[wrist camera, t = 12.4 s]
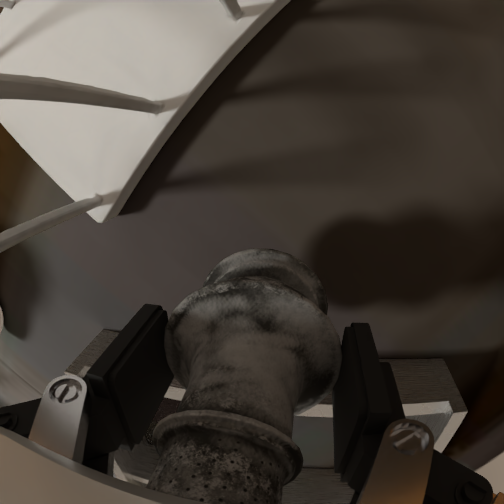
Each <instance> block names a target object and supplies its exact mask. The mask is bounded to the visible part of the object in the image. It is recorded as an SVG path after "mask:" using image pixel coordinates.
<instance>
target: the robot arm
mask: <svg viewBox="0 0 504 504" xmlns="http://www.w3.org/2000/svg"><path fill="white" fill-rule="evenodd" d="M167 323H168V316H167V312H166V311H165V310H163V308H162V307H161V306H159V305H151V304H145V305H143V307H142V308H141V309H140V310H139V311H138V312H137V313H136V315H135V316H134V317H133V318H132V319H131V320H130V322H129V323H128V324H127V325H126V326H125V327H124V328H123V330H122V331H121V332H120V333H119V334H118V335H117V337H116V338H115V339H114V340H113V341H112V342H111V344H110V345H109V346H108V347H107V348H106V350H105V351H104V352H103V353H102V354H101V356H100V357H99V358H98V359H97V360H96V361H95V363H94V364H93V365H92V366H91V368H90V369H89V370H88V371H87V372H86V373H87V374H86V375H85V376H84V377H83V379H81V378H79V377H77V376H73V375H66V376H61V377H58V378H56V379H54V380H52V381H51V382H50V383H49V384H48V385H47V387H46V389H45V391H44V394H43V396H42V398H40V399H36V400H32V401H27V402H23V403H19V404H15V405H10V406H6V407H2V408H0V504H208V503H203V502H198V501H194V500H189V499H185V498H181V497H177V496H173V495H169V494H165V493H161V492H158V491H154V490H151V489H147V488H144V487H141V486H138V485H135V484H132V483H129V482H126V481H123V480H120V479H117V478H114V477H113V469H114V455H115V452H114V451H116V450H118V448H122V449H125V450H128V451H132V449H133V447H134V446H135V444H137V445H138V444H140V442H141V441H142V439H143V437H144V435H145V433H146V431H147V429H148V427H149V425H150V423H151V421H152V419H153V417H154V415H155V413H156V412H157V410H158V408H159V406H160V404H161V402H162V400H163V398H164V396H165V394H166V392H167V390H168V388H169V386H170V384H171V383H172V381H173V379H174V375H173V373H172V371H171V369H170V367H169V365H168V363H167V358H166V353H165V348H164V335H165V327H166V325H167ZM341 349H342V355H343V357H342V362H341V367H340V372H339V376H338V380H337V382H336V383H335V385H334V387H333V389H332V408H333V432H334V471H335V473H340V481H341V482H347V484H348V486H349V487H350V488H352V489H353V490H354V492H353V494H352V496H351V499H350V501H349V503H348V504H504V494H503V493H501V492H499V493H498V494H497V495H496V494H494V493H493V490H492V487H491V484H490V483H489V482H488V480H487V479H485V478H484V477H483V476H481V475H479V474H477V473H475V472H474V471H472V470H470V469H468V468H467V467H465V466H463V465H461V464H459V463H458V462H456V461H454V460H452V459H451V458H449V457H447V456H445V455H444V454H442V453H440V452H439V451H437V450H435V449H434V435H433V433H432V431H431V430H430V429H429V427H428V426H427V425H425V424H423V423H422V422H420V421H417V420H414V419H406V418H405V414H404V410H403V406H402V402H401V399H400V395H399V392H398V388H397V384H396V381H395V378H394V374H393V371H392V367H391V365H390V363H389V362H380V361H379V357H378V354H377V350H376V347H375V343H374V339H373V336H372V332H371V329H370V326H369V324H368V323H352V324H351V327H345V330H344V335H343V340H342V345H341Z"/></svg>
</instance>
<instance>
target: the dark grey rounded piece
mask: <svg viewBox="0 0 504 504" xmlns="http://www.w3.org/2000/svg"><path fill="white" fill-rule="evenodd" d="M327 310H328V303H327V298H326V294H325V289H324V287H323V285H322V284H321V282H320V280H319V278H318V276H317V275H316V274H315V273H314V272H313V271H312V270H311V269H310V268H309V267H308V266H307V265H306V264H305V263H304V262H302V261H301V260H299V259H297V258H295V257H294V256H292V255H290V254H288V253H284V252H281V251H277V250H273V249H249V250H245V251H241V252H236V253H235V254H233V255H231V256H229V257H227V258H225V259H223V260H222V261H221V262H220V263H219V264H218V265H217V266H216V267H215V268H214V269H213V270H212V271H211V272H210V273H209V275H208V277H207V279H206V281H205V283H204V285H203V288H201V289H199V290H197V291H195V292H193V293H191V294H189V295H188V296H187V297H186V298H185V299H184V300H183V301H182V302H181V303H180V304H179V305H178V306H177V307H176V308H175V309H174V310H173V312H172V315H171V317H170V319H169V321H168V323H167V325H166V327H165V335H164V348H165V353H166V358H167V363H168V365H169V367H170V369H171V371H172V373H173V375H174V377H175V378H176V380H177V381H178V382H179V383H180V385H181V386H182V387H183V388H184V389H185V390H186V391H185V393H184V396H183V398H182V400H181V402H180V404H179V407H178V409H177V411H176V413H174V414H170V415H168V416H167V417H165V418H163V419H162V420H160V421H159V422H158V424H157V425H156V427H155V428H154V430H153V432H152V443H153V445H154V447H155V450H156V452H157V454H158V455H159V456H160V457H159V459H158V461H157V464H156V466H155V468H154V470H153V473H152V475H151V477H150V479H149V482H148V484H147V486H146V488H147V489H151V490H154V491H158V492H161V493H165V494H169V495H173V496H177V497H181V498H185V499H189V500H194V501H198V502H203V503H208V504H281V502H282V494H283V486H285V485H287V484H288V483H290V482H292V481H293V480H295V479H296V477H297V476H298V475H299V474H300V472H301V470H302V465H303V457H302V454H301V451H300V448H299V447H298V446H297V445H296V444H295V443H294V442H293V441H292V429H293V417H294V416H296V415H299V414H302V413H303V412H305V411H307V410H309V409H311V408H312V407H314V406H316V405H317V404H319V403H320V402H321V401H322V400H323V399H324V398H325V397H326V396H327V395H328V394H329V393H330V392H331V391H332V389H333V387H334V385H335V383H336V382H337V380H338V376H339V372H340V367H341V362H342V357H343V355H342V349H341V344H340V338H339V335H338V333H337V332H336V330H335V328H334V326H333V324H332V323H331V321H330V319H329V317H328V316H327Z"/></svg>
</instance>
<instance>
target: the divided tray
mask: <svg viewBox="0 0 504 504" xmlns="http://www.w3.org/2000/svg"><path fill="white" fill-rule="evenodd" d="M118 334H119V332H114V331H109V330H104V329H103V330H102V331H101V332H100V333H99V334H98V335H97V336H96V337H95V338H94V340H93V341H92V342H91V343H90V344H89V345H88V346H87V347H86V348H85V349H84V350H83V351H82V353H81V354H80V355H79V356H78V357H77V358H76V359H75V360H74V361H73V362H72V364H71V365H70V366H69V367H68V368H67V369H66V370H65V371H64V372H65V374H66V375H73V376H77V377H79V378H81V379H83V377H84V376H85V375H86V374H87V373H86V372H87V371H88V370H89V369H90V368H91V366H92V365H93V364H94V363H95V361H96V360H97V359H98V358H99V357H100V356H101V354H102V353H103V352H104V351H105V350H106V348H107V347H108V346H109V345H110V344H111V342H112V341H113V340H114V339H115V338H116V337H117V335H118ZM379 361H380V362H389V363H390V365H391V367H392V371H393V374H394V378H395V381H396V384H397V388H398V392H399V395H400V399H401V402H402V406H403V410H404V414H405V416H406V417H405V418H406V419H414V420H417V421H420V422H422V423H423V424H425V425H427V426H428V427H429V429H430V430H431V431H432V433H433V435H434V449H435V450H437V451H439V452H440V453H442V451H443V450H444V448H445V447H446V446H447V444H448V443H449V441H450V440H451V438H452V436H453V435H454V433H455V432H456V430H457V429H458V427H459V425H460V424H461V422H462V420H463V419H464V417H465V415H466V414H467V412H468V410H467V408H466V406H465V404H464V401H463V399H462V397H461V395H460V393H459V391H458V388H457V386H456V384H455V382H454V380H453V378H452V376H451V374H450V372H449V370H448V368H447V366H446V364H445V362H444V360H443V358H436V359H379ZM185 391H186V390H185V389H184V388H183V387H182V386H181V385H180V383H179V382H178V381H177V380H176V378H175V377H174V379H173V381H172V383H171V384H170V386H169V388H168V390H167V392H166V394H165V396H164V397H165V398H170V399H175V400H180V401H181V400H182V398H183V396H184V393H185ZM296 416H313V417H333V408H332V391H331V392H330V393H329V394H328V395H327V396H326V397H325V398H324V399H323V400H322V401H321V402H320V403H319V404H317V405H316V406H314V407H312V408H311V409H309V410H307V411H305V412H303V413H302V414H299V415H296ZM114 452H115V455H114V469H113V472H114V474H115V476H116V477H117V479H120V480H123V481H126V482H129V483H132V484H135V485H138V486H141V487H144V488H146V486H147V484H148V482H149V479H150V477H151V475H152V473H153V470H154V468H155V466H156V464H157V461H158V459H159V457H160V456H159V455H158V454H157V452H156V450H155V447H154V445H152V444H148V442H147V440H146V437H145V435H144V437H143V439H142V441H141V442H140V444H138V445H137V444H135V446H134V447H133V449H132V451H128V450H125V449H122V448H118V450H116V451H114ZM353 492H354V490H353V489H352V488H350V487H349V486H348V484H347V482H341V481H340V473H335V471H334V469H314V468H302V470H301V472H300V474H299V475H298V476H297V477H296V479H295V480H293V481H292V482H290V483H288V484H287V485H285V486H283V494H282V502H281V504H348V503H349V501H350V499H351V496H352V494H353Z"/></svg>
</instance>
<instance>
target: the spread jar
mask: <svg viewBox="0 0 504 504" xmlns="http://www.w3.org/2000/svg"><path fill="white" fill-rule="evenodd" d="M2 328H3V312H2V309H1V306H0V334H1V332H2Z"/></svg>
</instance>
